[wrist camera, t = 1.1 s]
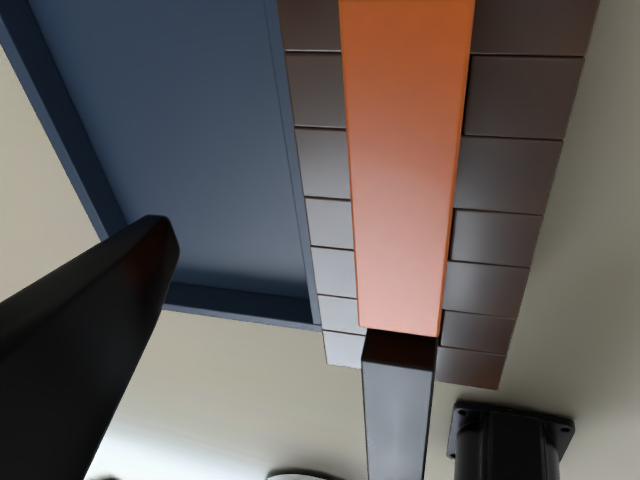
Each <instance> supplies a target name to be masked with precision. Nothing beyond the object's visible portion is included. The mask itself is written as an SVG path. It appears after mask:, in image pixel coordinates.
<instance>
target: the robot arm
mask: <svg viewBox="0 0 640 480" xmlns="http://www.w3.org/2000/svg"><path fill="white" fill-rule="evenodd" d="M179 256H180V246H179V242H178V240H177V237H176V234H175V232H174V229H173V226H172V223H171V221H170V219H169V218H168V217H167V216H164V215H154V214H148V215H145V216H143V217H141V218H140V219H138V220H136V221H135V222H133V223H131V224H130V225H128V226H127V227H125V228H123V229H122V230H120V231H118V232H117V233H115V234H113V235H112V236H110V237H108V238H107V239H105V240H103V241H102V242H100V243H98V244H97V245H95V246H93V247H92V248H90V249H89V250H87V251H85V252H84V253H82V254H80V255H79V256H77V257H75V258H74V259H72V260H70V261H69V262H67V263H65V264H64V265H62V266H60V267H59V268H57V269H55V270H54V271H52V272H50V273H49V274H47V275H45V276H44V277H42V278H41V279H39V280H37V281H36V282H34V283H32V284H31V285H29V286H27V287H26V288H24V289H22V290H21V291H19V292H17V293H16V294H14V295H12V296H11V297H9V298H7V299H6V300H4V301H2V302H1V303H0V480H84V477H85V475H86V473H87V471H88V469H89V467H90V465H91V463H92V460H93V458H94V456H95V454H96V452H97V450H98V448H99V445H100V443H101V441H102V439H103V437H104V435H105V433H106V431H107V428H108V426H109V424H110V422H111V420H112V418H113V416H114V413H115V411H116V409H117V407H118V405H119V403H120V401H121V398H122V396H123V394H124V392H125V390H126V388H127V386H128V384H129V381H130V379H131V377H132V375H133V373H134V371H135V369H136V366H137V364H138V362H139V360H140V358H141V356H142V354H143V352H144V349H145V347H146V345H147V343H148V341H149V339H150V337H151V334H152V332H153V330H154V328H155V325H156V323H157V321H158V318H159V315H160V313H161V310H162V307H163V304H164V301H165V298H166V295H167V292H168V289H169V286H170V283H171V280H172V277H173V274H174V272H175V269H176V266H177V263H178V260H179ZM574 433H575V424H574V422H573V421H572V420H569V419H565V418H559V417H553V416H547V415H540V414H534V413H528V412H522V411H516V410H510V409H503V408H497V407H491V406H485V405H479V404H473V403H466V402H457V403H455V404H454V408H453V415H452V421H451V427H450V433H449V439H448V445H447V456H448V457H449V458H451V459H455V472H454V480H560V473H559V463H560V461H561V459H562V457H563V455H564V453H565V451H566V449H567V447H568V445H569V443H570V441H571V439H572V437H573V435H574Z"/></svg>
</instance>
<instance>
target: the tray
mask: <svg viewBox="0 0 640 480" xmlns="http://www.w3.org/2000/svg"><path fill="white" fill-rule="evenodd" d="M0 44H1V46H2V48H3V50H4V52H5V54H6V56H7V58H8V59H9V61H10V63H11V65H12V67H13V69H14V71H15V73H16V75H17V77H18V79H19V81H20V83H21V85H22V87H23V89H24V91H25V93H26V95H27V97H28V99H29V101H30V103H31V105H32V107H33V109H34V111H35V113H36V115H37V117H38V119H39V121H40V122H41V124H42V126H43V128H44V130H45V132H46V134H47V136H48V138H49V140H50V142H51V144H52V146H53V148H54V150H55V152H56V154H57V156H58V158H59V160H60V162H61V164H62V166H63V168H64V170H65V172H66V174H67V176H68V178H69V180H70V182H71V184H72V185H73V187H74V189H75V191H76V193H77V195H78V197H79V199H80V201H81V203H82V205H83V207H84V209H85V211H86V213H87V215H88V217H89V219H90V221H91V223H92V225H93V227H94V229H95V231H96V233H97V235H98V237H99V239H100V241H101V242H102V241H103V240H105V239H107V238H108V237H110V236H112V235H113V234H115V233H117V232H118V231H120V230H122V229H123V228H125V227H127V226H128V225H130V224H131V223H133V222H135V221H136V220H138V219H140V218H141V217H143V216H145V215H148V214H154V215H164V216H167V217H168V218H169V219H170V221H171V223H172V226H173V229H174V232H175V234H176V237H177V240H178V242H179V246H180V256H179V260H178V263H177V266H176V269H175V272H174V274H173V277H172V280H171V283H170V286H169V289H168V292H167V295H166V298H165V301H164V304H163V307H162V310H169V311H176V312H183V313H190V314H197V315H204V316H211V317H218V318H225V319H232V320H239V321H246V322H253V323H261V324H268V325H275V326H282V327H289V328H296V329H303V330H310V331H317V332H322V327H321V320H320V313H319V306H318V299H317V292H316V285H315V278H314V271H313V264H312V257H311V250H310V245H311V244H310V240H309V233H308V225H307V218H306V211H305V204H304V195H303V191H302V184H301V177H300V170H299V163H298V155H297V148H296V141H295V134H294V123H293V117H292V109H291V102H290V95H289V88H288V81H287V73H286V66H285V59H284V52H285V51H284V49H283V45H282V38H281V30H280V23H279V16H278V9H277V2H276V0H0Z"/></svg>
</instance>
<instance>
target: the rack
mask: <svg viewBox="0 0 640 480" xmlns="http://www.w3.org/2000/svg"><path fill="white" fill-rule="evenodd" d="M338 1H339V0H276V2H277V9H278V16H279V23H280V30H281V38H282V45H283V49H284V51H285V52H284V59H285V66H286V73H287V81H288V88H289V95H290V102H291V109H292V117H293V123H294V134H295V141H296V148H297V155H298V163H299V170H300V177H301V184H302V191H303V195H304V204H305V211H306V218H307V225H308V233H309V240H310V244H311V245H310V250H311V257H312V264H313V271H314V278H315V285H316V292H317V299H318V306H319V313H320V320H321V327H322V334H323V341H324V348H325V355H326V362H327V364H330V365H337V366H343V367H349V368H356V369H361V355H362V350H363V345H364V341H365V336H366V332H367V328H364V327H360V326H359V324H358V311H357V295H356V279H355V262H354V246H353V230H352V214H351V198H350V182H349V166H348V149H347V133H346V117H345V101H344V85H343V69H342V53H341V36H340V20H339V4H338ZM600 1H601V0H475V10H474V19H473V28H472V37H471V47H470V58H469V65H468V74H467V84H466V93H465V102H464V111H463V121H462V130H461V139H460V148H459V158H458V167H457V176H456V185H455V195H454V204H453V213H452V222H451V232H450V241H449V250H448V259H447V268H446V278H445V287H444V296H443V305H442V315H441V324H440V333H439V339H438V349H437V360H436V370H435V379H434V381H440V382H446V383H453V384H459V385H465V386H472V387H478V388H485V389H491V390H498V389H499V385H500V381H501V377H502V373H503V370H504V366H505V362H506V358H507V353H508V350H509V347H510V343H511V339H512V335H513V331H514V328H515V324H516V320H517V317H518V313H519V310H520V306H521V302H522V298H523V295H524V291H525V287H526V283H527V279H528V276H529V272H530V266H531V263H532V260H533V256H534V252H535V248H536V244H537V241H538V237H539V233H540V229H541V225H542V222H543V218H544V214H545V211H546V207H547V203H548V199H549V196H550V192H551V188H552V184H553V180H554V177H555V173H556V169H557V165H558V161H559V158H560V154H561V150H562V146H563V142H564V141H563V139H564V137H565V134H566V131H567V127H568V123H569V119H570V115H571V112H572V108H573V104H574V100H575V96H576V93H577V89H578V85H579V81H580V77H581V74H582V70H583V66H584V62H585V57H584V56H585V54H586V53H587V50H588V46H589V43H590V39H591V35H592V31H593V28H594V24H595V20H596V16H597V12H598V9H599V5H600Z"/></svg>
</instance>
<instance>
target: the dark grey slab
mask: <svg viewBox="0 0 640 480" xmlns="http://www.w3.org/2000/svg"><path fill="white" fill-rule="evenodd" d="M438 339H439V336H438V337H430V336H423V335H415V334H408V333H401V332H393V331H386V330H379V329H371V328H367V332H366V336H365V341H364V345H363V350H362V355H361V373H362V390H363V406H364V422H365V438H366V454H367V471H368V480H424V472H425V463H426V453H427V444H428V435H429V426H430V416H431V407H432V398H433V389H434V379H435V370H436V360H437V349H438Z"/></svg>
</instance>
